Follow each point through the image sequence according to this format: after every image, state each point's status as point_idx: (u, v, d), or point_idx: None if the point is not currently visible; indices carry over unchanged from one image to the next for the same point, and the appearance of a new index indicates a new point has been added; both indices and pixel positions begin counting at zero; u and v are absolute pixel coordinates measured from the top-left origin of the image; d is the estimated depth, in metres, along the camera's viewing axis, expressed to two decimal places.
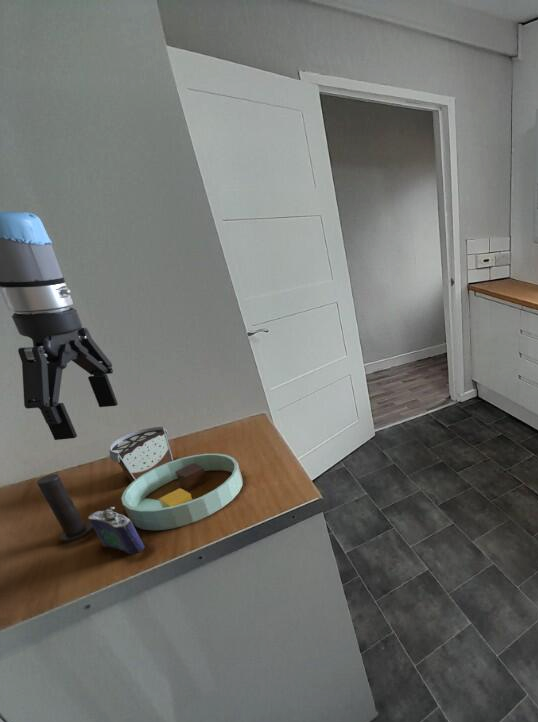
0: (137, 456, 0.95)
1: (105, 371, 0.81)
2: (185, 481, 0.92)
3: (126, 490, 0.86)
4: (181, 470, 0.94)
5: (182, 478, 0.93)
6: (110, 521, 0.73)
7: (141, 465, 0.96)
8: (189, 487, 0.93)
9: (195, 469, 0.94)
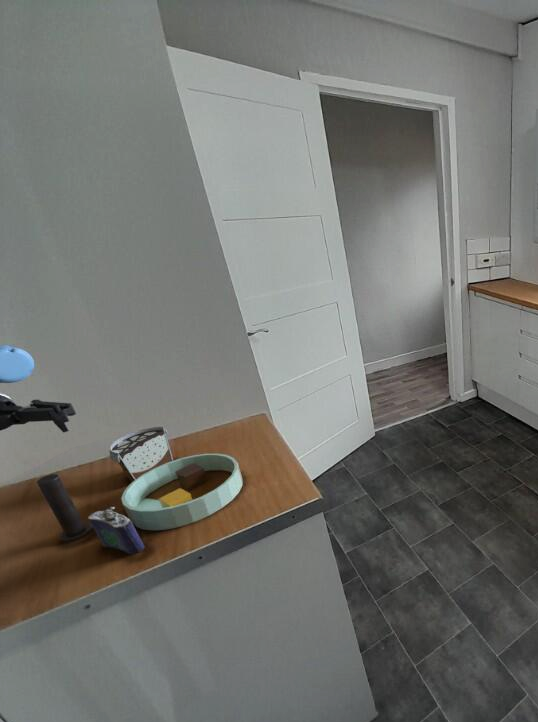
0: (137, 456, 0.95)
1: None
2: (185, 481, 0.92)
3: (126, 490, 0.86)
4: (181, 470, 0.94)
5: (182, 478, 0.93)
6: (110, 521, 0.73)
7: (141, 465, 0.96)
8: (189, 487, 0.93)
9: (195, 469, 0.94)
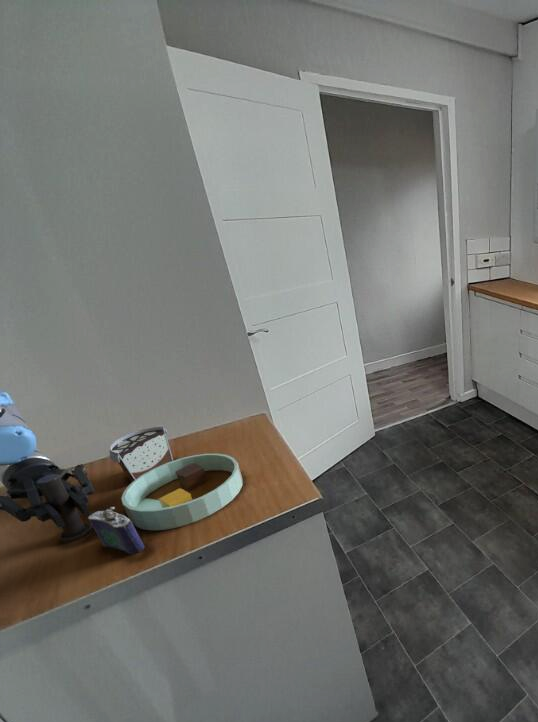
0: (137, 456, 0.95)
1: None
2: (185, 481, 0.92)
3: (126, 490, 0.86)
4: (181, 470, 0.94)
5: (182, 478, 0.93)
6: (110, 521, 0.73)
7: (141, 465, 0.96)
8: (189, 487, 0.93)
9: (195, 469, 0.94)
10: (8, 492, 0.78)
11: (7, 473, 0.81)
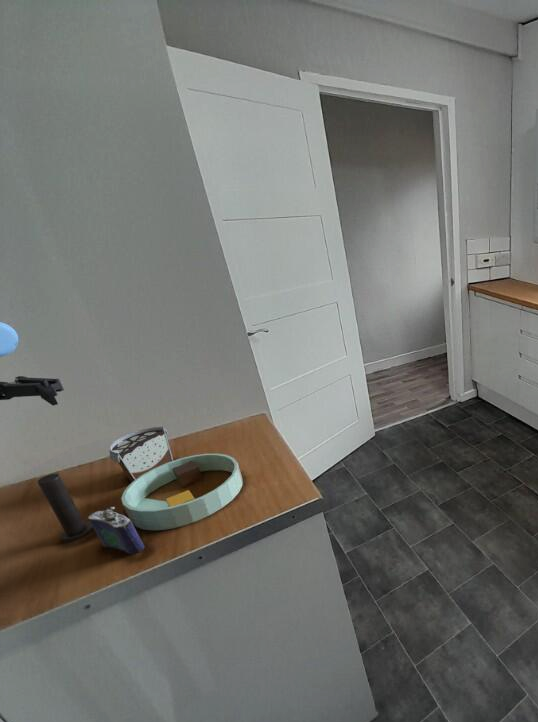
0: (137, 456, 0.95)
1: None
2: (179, 479, 0.93)
3: (126, 490, 0.86)
4: (178, 467, 0.95)
5: (177, 476, 0.93)
6: (110, 521, 0.73)
7: (141, 465, 0.96)
8: (183, 485, 0.94)
9: (190, 468, 0.95)
10: None
11: None
